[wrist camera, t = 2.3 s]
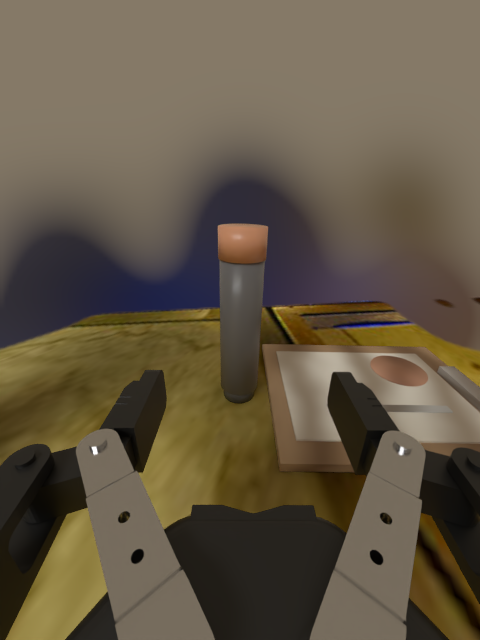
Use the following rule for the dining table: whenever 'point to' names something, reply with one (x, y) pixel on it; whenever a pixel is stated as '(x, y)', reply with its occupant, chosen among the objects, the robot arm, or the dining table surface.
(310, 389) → the clipboard
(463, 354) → the dining table surface
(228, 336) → the marker
